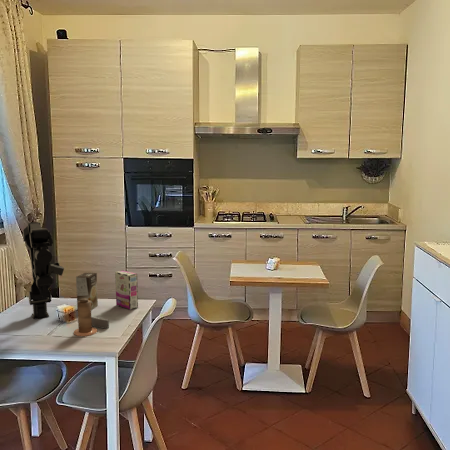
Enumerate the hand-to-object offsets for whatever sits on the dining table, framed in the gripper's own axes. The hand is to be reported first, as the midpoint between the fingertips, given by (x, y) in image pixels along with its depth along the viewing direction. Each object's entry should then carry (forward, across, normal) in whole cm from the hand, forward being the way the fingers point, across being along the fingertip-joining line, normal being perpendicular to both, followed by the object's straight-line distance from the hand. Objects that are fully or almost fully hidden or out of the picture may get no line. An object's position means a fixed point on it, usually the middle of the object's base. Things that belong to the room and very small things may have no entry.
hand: (43, 296), depth 199 cm
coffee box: (+13, +16, -21) cm, 30 cm away
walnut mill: (+12, -14, -13) cm, 23 cm away
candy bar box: (+13, +10, -38) cm, 42 cm away
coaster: (+13, -14, -14) cm, 24 cm away
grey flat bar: (+13, -10, -19) cm, 25 cm away
